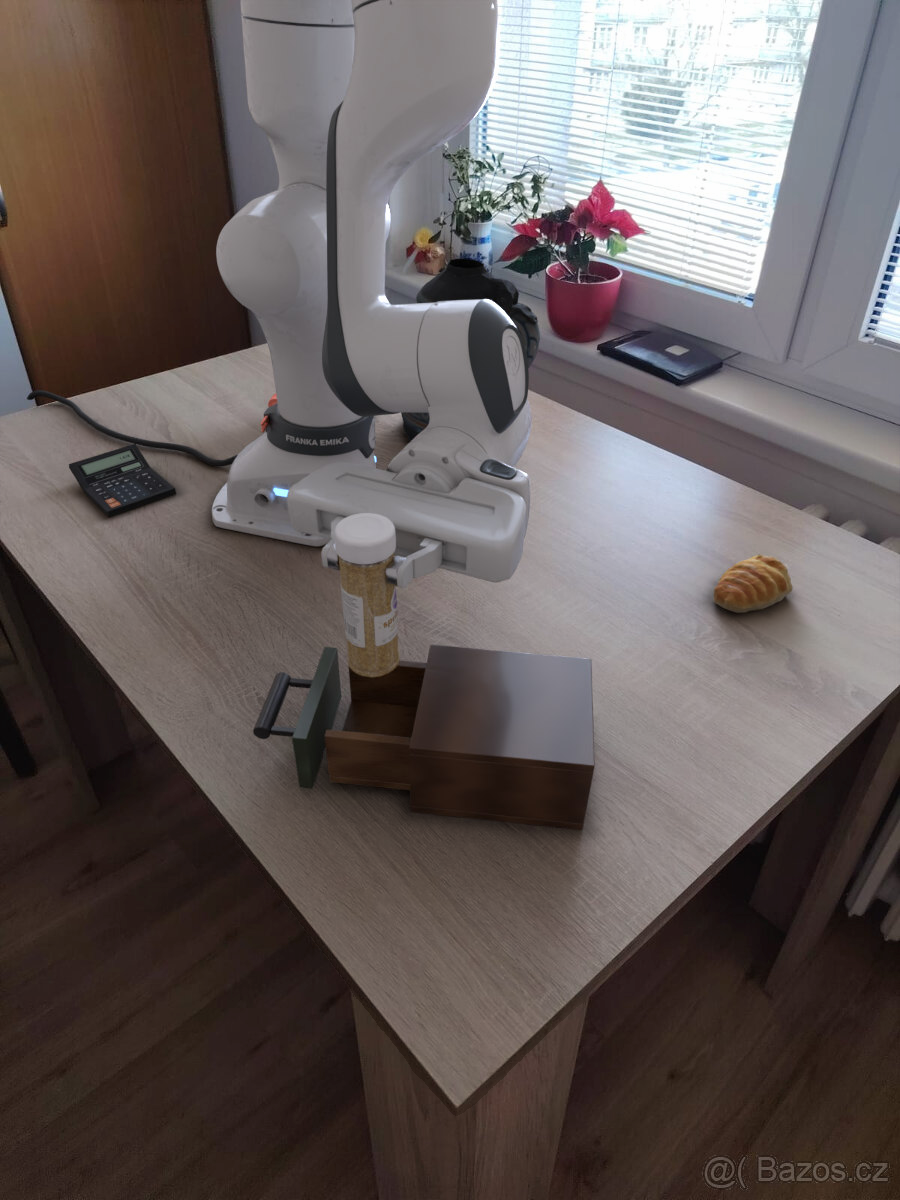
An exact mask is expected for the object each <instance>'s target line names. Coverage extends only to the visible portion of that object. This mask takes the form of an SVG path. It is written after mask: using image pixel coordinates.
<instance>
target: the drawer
mask: <svg viewBox="0 0 900 1200" xmlns="http://www.w3.org/2000/svg"><path fill="white" fill-rule="evenodd" d="M426 664H427V662H423V661H422V662H421V661H413V660H412V661H410V660H401V659H400V661H399V664H398V665H397V667H396V668H395V669H394V670H393V671H391V672H390V673H388V674H385V675H382V676H377V677H366V676H361V675H359V674H357V673H355V672H354V671H353V670H352V669H351V668H350V667H349V665H348V664H347V665H348V677H349V678H348V679H349V690H350V703H349V706H348V710H347V714H346V717H345V720H344V724H343V727H342V730H336V729H333V726H334V722H335V719H336V715H337V712H338V709H339V706H340V703H341V699H342V686H341V675H340V664H339V652H338V647H333V646H332V647H331V646H324V648H323V650H322V653H321V656H320V658H319V661H318V664H317V667H316V670H315V672H314V674H313V678H312V679H307V678H306V679H305V678H297V677H295V678H294V677H291V676H290V674H289V673H287V672H283V671H282V672H281V671H280V672H277V673H276V674H275V676H274V678H273V681H272V684H271V686H270V688H269V691H268V693H267V695H266V698H265V701H264V702H263V704H262V708H261V710H260V712H259V715H258V718H257V720H256V722H255V725H254V727H253V730H252V732H253V735H254V736H255V738H257V739H260V740H266V739H269V738H270V737H271V735H272V736H280V737H290V738H291V740H292V746H293V754H294V761H295V767H296V768H295V769H296V774H297V780H298V781H297V782H298V788H300V789H308V790H314V787H315V783H316V780H317V777H318V774H319V771H320V768H321V764H322V761H323V758H324V754H326V760H327V761H326V762H327V771H328V779H329V782H330V783H337V784H345V785H347V784H348V785H355V786H366V787H376V788H384V789H396V790H404V791H410V753H409V747H410V742H411V737H412V732H413V728H414V723H415V718H416V713H417V708H418V703H419V698H420V693H421V688H422V684H423V679H424V674H425V669H426ZM289 688H299V689H301V688H302V689H308V693H307V695H306V697H305V701H304V704H303V706H302V709H301V712H300V715H299V717H298V720H297V723H296V726H295V727H290V726H281V725H276V722H277V720H278V717H279V714H280V712H281V709H282V706H283V703H284V701H285V700H286V699H285V698H286V696H287V693H288V692H289V691H288V690H289Z"/></svg>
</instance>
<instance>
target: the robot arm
mask: <svg viewBox="0 0 900 1200" xmlns="http://www.w3.org/2000/svg"><path fill="white" fill-rule="evenodd" d="M240 15H241V16H240V17H241V18H240V19H241V29H242V30H241V31H242V41H243V42H242V43H243V54H244V55H243V57H244V72H245V84H246V96H247V107H248V111H249V113H250V116H251V118H252V119H253V121H254V122H255V124H256V125H257V126H258V127H259V128H260V130H262V131H263V132H264V133H265V135H266V137H267V139H268V142H269V145H270V147H271V151H272V153H273V156H274V160H275V164H276V168H277V173H278V188H277V189H276V190H274V191H273V190H272V191H271V192H269V193H266V194H263V195H261V196H258V197H256V198H254V199H252V200H250V201H249V202H247V203H246V204H245V205H244V206H243V207H242V208H240V210H239V211H238V212H236V213H235V214H234V215H233V216H232V217H231V218H230V220H228V222H227V223H225V225H224V226H223V228H222V229H221V231H220V233H219V235H218V238H217V242H216V251H215V252H216V253H215V255H216V263H217V267H218V272H219V274H220V276H221V280H222V281H223V283H224V285H225V287H226V288H227V290H228V291H229V293H230V294H231V295H232V296H233V298H235V300H237V302H238V303H240V304H241V305H242V306H243V307H245V308H246V309H248V310H250V311H251V312H252V313H253V315H254V316H255V318H256V321H258V324H259V326H260V328H261V330H262V334H263V335H264V338H265V341H266V343H267V347H268V350H269V354H270V360H271V366H272V367H271V368H272V374H273V381H274V389H275V393H274V394H272V396H271V397H270V399H269V400H268V402H267V408H266V409H265V411H264V413H263V418H262V420H261V421H260V427H261V433H263V434H261V435H260V436H259V437H257V438H256V439H255V440H253V441H251V442H250V443H249V444H247V445H246V446H245V447H244V448H242V450H241V451H239V453H238V454H235V455H233V456H231V457H228V458H225V459H217V458H215V459H214V458H211V457H209V456H207V455H205V454H204V453H202V452H200V451H199V450H197V449H195V448H193V447H190V446H187V445H183V444H178V443H172V442H164V441H163V442H162V441H155V440H150V439H149V440H148V439H143V438H139V437H135V436H131V435H126V434H124V433H120V432H118V431H115V430H113V429H110V428H108V427H105V426H103V425H102V424H100V423H98V422H96V420H94V419H92V418H91V417H90V416H89V415H87V413H85V412H84V411H82V410H81V408H80V407H79V406H78V405H77V404H75V402H73V401H72V400H70V399H68V398H66V397H63V396H61V395H59V394H55V393H52V392H50V391H46V390H41V389H40V390H33V391H31V392H30V393H29V394H28V395H27V397H26V400H28V401H32V400H34V399H35V398H37V397H43V398H47V399H50V400H53V401H56V402H58V403H60V404H63V405H65V406H68V407H69V408H70V409H72V410H73V412H74V413H75V414H76V415H77V417H79V418H80V419H82V420H83V421H84V422H85V423H87V424H88V425H89V426H91V427H92V428H94V429H95V430H97V432H99V433H102V434H105V435H107V436H109V437H111V438H113V439H116V440H118V441H119V440H120V441H124V442H127V443H129V444H136V445H137V446H142V447H148V448H154V449H162V450H170V451H177V452H182V453H185V454H189V455H191V456H193V457H195V458H197V459H198V460H200V461H201V462H203V463H205V464H207V465H209V466H214V467H227V466H230V465H231V466H230V468H229V471H228V476H227V481H226V483H225V484H223V486H222V487H221V489H219V491H218V493H217V494H216V496H215V498H214V500H213V502H212V505H211V506H212V507H211V519H212V522H213V524H214V526H215V527H218V528H221V529H225V530H229V531H236V532H239V533H244V534H251V535H254V536H259V537H265V538H271V539H275V540H280V541H284V542H285V541H286V542H290V543H295V544H299V545H305V546H309V547H316V548H317V547H322V546H323V547H322V549H321V553H320V556H321V564H322V567H324V568H328V569H331V570H335V571H339V572H340V565H339V556H338V555H337V552H336V548H335V534H334V532H335V528H336V526H337V524H338V523H339V522H340V521H341V520H343V519H344V518H346V517H348V516H351V515H355V514H360V513H373V514H379V515H382V516H384V517H386V518H388V519H389V520H390V521H391V522H392V523H393V525H394V527H395V535H396V548H395V551H394V558H393V559H392V562H390V563H389V564H388V565H387V567H386V576H387V578H386V583H387V584H390V585H393V586H396V588H401V589H406V588H407V587H408V586H409V584H410V583H411V582H412V581H413V579H417V578H420V577H423V576H426V575H429V574H432V573H434V572H437V570H438V569H441V570H445V571H449V572H452V573H456V574H460V575H464V576H468V577H472V578H476V579H480V580H483V581H486V582H487V581H488V582H490V583H494V584H495V583H500V582H501V583H502V582H504V581H507V580H510V579H511V578H512V577H513V575H514V574H515V572H516V570H517V568H518V567H519V564H520V563H521V559H522V557H523V553H524V543H525V538H526V534H527V529H528V525H529V518H530V511H531V510H530V509H531V483H530V482H531V481H530V476H529V475H528V473H526V472H524V471H522V470H520V469H517V468H515V466H516V465H517V464H518V462H519V460H520V458H521V457H522V455H523V453H524V451H525V448H526V446H527V444H528V441H529V438H530V435H531V430H532V425H533V424H532V423H533V416H532V408H531V405H530V403H529V399H528V396H529V386H530V385H529V382H530V379H529V378H530V377H529V375H530V373H529V372H530V371H529V368H528V360H527V353H526V348H525V344H524V341H523V338H522V336H521V334H520V332H519V330H518V329H517V327H516V326H515V324H514V323H513V322H512V320H511V319H510V318H509V316H508V315H507V314H506V313H505V312H504V311H503V310H502V309H501V308H500V307H499V306H498V305H497V304H495V303H494V302H492V301H491V300H489V299H483V300H454V301H438V302H436V303H418V304H417V303H402V304H401V303H400V304H392V303H390V301H389V300H388V299H387V296H386V246H387V245H386V244H387V243H386V242H387V240H388V238H389V235H390V230H391V225H392V224H391V221H392V219H391V212H390V211H391V210H390V208H389V204H388V203H389V200H390V196H391V194H392V191H393V190H394V187H395V186H396V184H397V183H398V181H399V180H400V179H401V177H402V176H403V175H404V174H405V173H406V172H407V171H409V169H410V168H411V167H412V166H414V165H415V164H416V163H418V162H419V161H420V160H422V159H423V158H424V157H427V156H428V155H429V154H431V153H432V152H434V151H436V150H437V149H438V148H440V147H441V146H443V145H445V144H447V142H449V141H451V140H452V139H453V138H455V137H456V136H457V135H459V134H460V133H461V132H462V131H463V130H465V128H467V127H468V125H469V124H471V122H473V120H474V119H475V118H476V116H478V114H479V113H480V111H482V109H483V107H484V105H485V104H486V102H487V100H488V99H489V96H490V95H491V92H492V91H493V88H494V86H495V83H496V80H497V76H498V69H499V58H500V24H499V8H498V0H240ZM401 412H412V413H429V416H430V421H429V424H428V426H427V427H426V428H425V429H424V430H423V431H422V432H420V433H419V434H418V435H417V436H416V437H415V438H414V439H413V440H412V441H409V442H408V443H407V444H406V445H405V446H404V447H403V448H402V449H401V450H400V451H399V452H398V453H397V454H396V455H395V456H394V457H393V458H392V459H391V460H390V462H389V463H388V465H387V468H386V470H384V469H379V468H377V456H375V448H376V442H377V441H376V437H377V436H376V418H375V417H377V416H378V417H379V416H387V415H395V414H401Z"/></svg>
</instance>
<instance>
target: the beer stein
mask: <svg viewBox="0 0 900 1200" xmlns="http://www.w3.org/2000/svg"><path fill="white" fill-rule="evenodd" d="M519 295H520V293H519V291H518V289H517V286H516V285H515V283H514V282H512V281H510V280H507V279H502V278H498V277H495V276H494V275H493V274H491V273H490V272H489V271H488V269H487V268H486V265H485V263H483V262H481V261H480V260H477V259H470V258H454V259H450V260H449V261H448V262H447V264H446V267H445V268H444V269H443V270H442V271H440V272H439V273H437V275H435V276H434V277H433V278H431V279H430V280H429V281H427V282H426V283H425V284H424V285H423V286H422V287H421V288H420V290H419V291H418V292H417V294H416V297H415V300H416V304H418V303H436V302H438V301H454V300H483V299H489V300H491V301H492V302H494V303H495V304H497V305H498V306H499V307H500V308H501V309H502V310H503V311H504V312H505V313H506V314H507V315H508V316H509V318H510V319H511V320H512V322H513V323H514V324H515V326H516V327H517V329H518V330H519V332H520V334H521V336H522V338H523V341H524V344H525V348H526V353H527V360H528V369H530V367H531V366H532V364H533V362H534V361H535V359H536V357H537V354H538V351H539V348H540V343H541V329H540V326H539V323H538V322H539V321H538V316H537V315H536V314H535V313H534V312H533V311H532V308H530V307H529V306H528V305H526V304H525V303H521V302H519ZM400 414H401V419H402V422H403V425H402V431H403V432H404V434H405V436H406V437H407V438H408V440H409V442H411V441H412V440H413V439H414V438H415V437H416V436H417V435H418V434H419V433H420V432H422V431H423V430H424V429H425V428H426V427H427V426H428V424H429V421H430V416H429V413H412V412H400Z"/></svg>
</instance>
